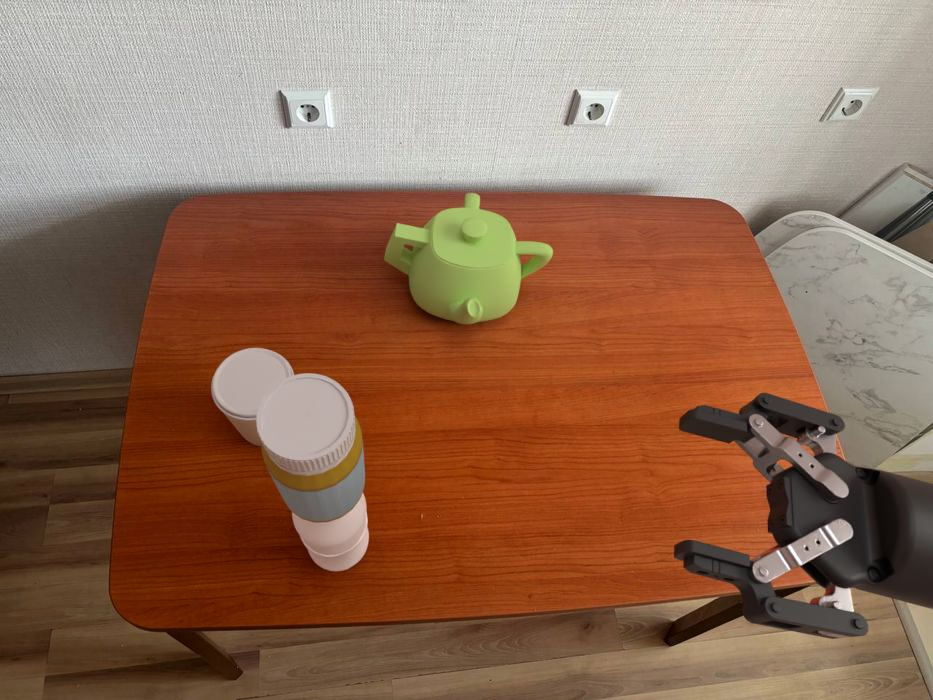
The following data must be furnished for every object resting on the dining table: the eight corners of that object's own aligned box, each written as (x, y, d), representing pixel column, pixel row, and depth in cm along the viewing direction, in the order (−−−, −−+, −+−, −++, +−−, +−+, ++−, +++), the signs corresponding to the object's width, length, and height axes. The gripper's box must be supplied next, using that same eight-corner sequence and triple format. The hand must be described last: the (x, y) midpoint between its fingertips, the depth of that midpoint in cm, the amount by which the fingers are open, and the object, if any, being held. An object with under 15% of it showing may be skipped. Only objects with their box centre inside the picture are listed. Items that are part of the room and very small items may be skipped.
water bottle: (324, 506, 74) (302, 434, 53) (378, 525, 74) (377, 461, 53) (299, 562, 71) (264, 509, 49) (355, 583, 71) (344, 539, 49)
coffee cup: (316, 401, 81) (307, 360, 71) (285, 463, 77) (270, 428, 66) (253, 379, 82) (235, 335, 71) (218, 439, 77) (193, 401, 67)
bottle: (335, 430, 53) (321, 349, 40) (381, 490, 51) (381, 425, 38) (266, 476, 51) (227, 404, 38) (311, 542, 49) (287, 490, 36)
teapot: (466, 224, 100) (478, 159, 88) (548, 302, 94) (574, 245, 82) (377, 277, 93) (376, 214, 80) (461, 366, 87) (474, 314, 74)
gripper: (903, 672, 37) (650, 605, 37) (874, 459, 44) (662, 403, 44) (1016, 670, 30) (708, 589, 30) (960, 420, 37) (711, 355, 37)
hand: (681, 479), depth 37 cm, fingers open, 8 cm apart
